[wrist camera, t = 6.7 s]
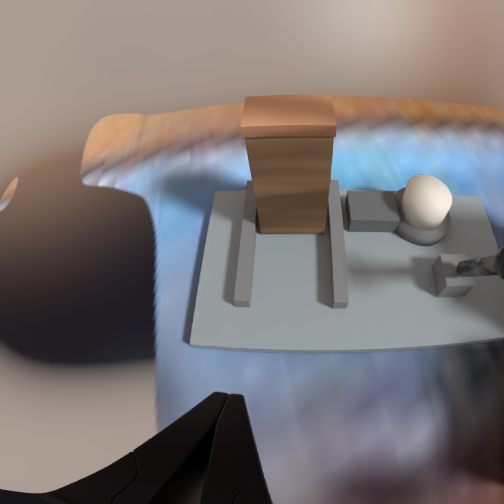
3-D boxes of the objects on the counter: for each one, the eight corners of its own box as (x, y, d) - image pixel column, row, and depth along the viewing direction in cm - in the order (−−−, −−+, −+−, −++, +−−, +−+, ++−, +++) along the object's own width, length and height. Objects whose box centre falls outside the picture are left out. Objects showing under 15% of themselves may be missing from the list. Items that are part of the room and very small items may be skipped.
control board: (511, 338, 19) (541, 319, 15) (193, 347, 23) (173, 330, 19) (475, 201, 26) (492, 172, 22) (217, 196, 30) (207, 162, 26)
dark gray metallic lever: (471, 284, 19) (536, 282, 12) (447, 285, 20) (509, 283, 12) (471, 254, 20) (534, 240, 12) (447, 254, 20) (508, 239, 12)
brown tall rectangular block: (325, 235, 25) (336, 125, 16) (259, 235, 26) (240, 127, 17) (323, 203, 27) (330, 95, 18) (262, 203, 27) (245, 96, 18)
